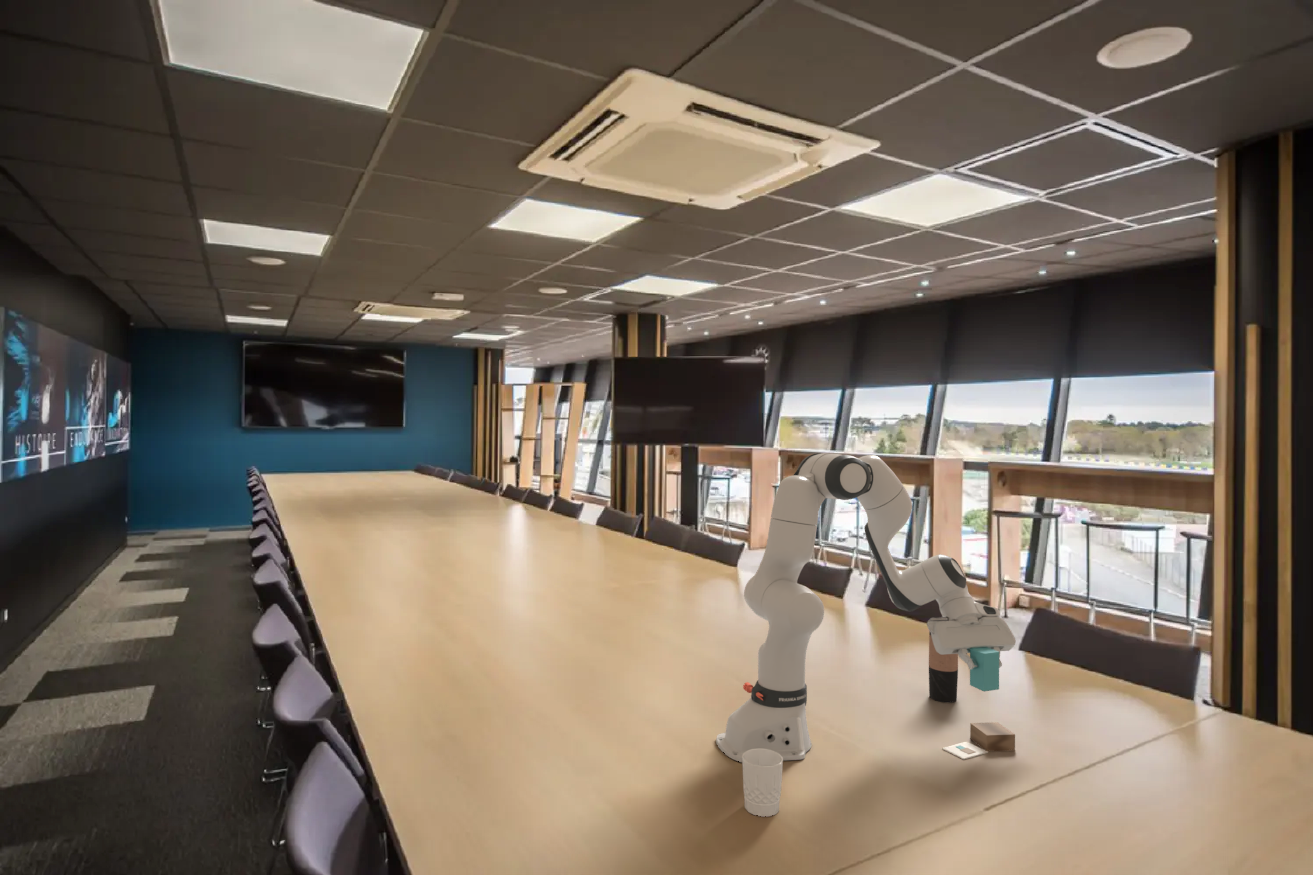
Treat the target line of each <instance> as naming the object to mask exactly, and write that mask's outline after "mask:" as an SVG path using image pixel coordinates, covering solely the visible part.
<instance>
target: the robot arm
mask: <svg viewBox="0 0 1313 875" xmlns="http://www.w3.org/2000/svg"><path fill="white" fill-rule="evenodd" d="M825 499H831V500H842V501H849V500H852V499H853V500H854V499H858V501H859V503H860V504H861V507H863V509H864V511H865V514H866V516H867V517H866V518H867V521H866V523H865V525H864V534H865V538H866V541H867V543H868V545H869V549H870V551H871V553H872V555H873V558H874V560H875V562H876V566H878V570H879V571H880V573H881V575H882V578H883V581H884V583H885V585H886V588H887V593H888V595H889V598H890V600H891V602H892V603H893V604H894V605H895V607H896V608H897V609H899V610H902V611H904V612H914V611H915V610H918V609H919V608H921V607H922V606H923V605H926V604H929V603H930V602H932V601H936V602H937V604H938V607H939V612H940V614H941V617H940V616H939V617H930V618H929V619H928V620H927V621H926V626H927V629H928V631H930V632H931V637H932V641H933V644H934V647H935V650H936V651H937V652H938V653H939V654H941V655H944V654H958V658H959V659H961V660H962V661H963V662H964V663H965V664H967V667H968V669H969V671H970V670H972V669H976V668H978V664H977V663H976V660H972V659H971V658H970V655H968V654H970V648H980V647H988V648H990V649H993V650H996V651H998V652H999V669H1000V668H1001V667H1002V666H1003V662H1002V660H1001V652H1009V651H1011V650H1012V649H1013V648H1014V647H1015V645H1016V640H1017V639H1016V638H1015V635H1014V634H1013V632H1012V630H1011V628H1010V626H1009V624H1008V623H1007V622H1006V621H1005V619H1003V618H1002V617H1000V616H1001V612H1000V610H999V608H997V607H994V606H991V605H986V604H983V603H980V602H976V600H975V599H974V598H973V596H972V595H971V594H970V593H969V587H968V585H967V577H966V576H965V573H964V571H963V569H962V568H961V566H960V564H959V563H958V562H957V560H955V559H954V558H953V557H951V556H948V555H945V554H940V553H939V554H936V555H932V556H931V557H929V558H927V559H924V560H922V561H921V562H919V563H917V564H914V565H912V566H910V567H907V568H906V569H898V567H897V566H896V562H895V560H894V559H893V556H892V554H891V551H890V549H889V545H890V543H891V541H892V539H894V537H895V535H896V534H898V532H900V530H901V529H902V528H904V527H905V525H906V524H907V522H908V521H909V519H910V517H911V514H912V511H913V503H912V502H913V500H912V499H911V496H910V495H909V492H908V491H907V489H906V487H905V486H904V484H903V483H902V481H901V480H900V479H899V477H898V476H897V475H896V474H895V472H894V471H893V470H892V469H891V467H889V466H888V465H887V463H886V462H885V461H884V460H883V459H882V458H880V457H879V456H877V455H873V454H868V455H863V456H860V457H855V456H853V455H850V454H839V453H835V452H824V453H821V452H819V453H812V454H810V455H808V456H806V457H805V458H803V459H802V461H801V462H800V463H799V465H798V467H797V469H796V471H795V472H794V473H793V474H792V475H789V476H786V477H785V478H783V479H782V480H781V481H780V483H779V485H778V488H777V490H776V494H775V496H774V500H773V504H772V507H771V508H772V509H771V514H770V522H769V526H768V532H767V540H766V546H765V549H764V553H763V556H762V558H761V562H760V564H759V566H758V569H757V571H756V573H755V574H754V575H753V576H751V578H750V579H749V580H748V581H747V582H746V585H745V587H744V593H743V594H744V595H743V597H744V600H745V603H746V605H747V606H748V607H749V608H750V610H751V611H753V613H754V614H755V615H756V616H757V617H760V618H761V619H764V620H765V621H767V623H768V631H767V634H766V638H765V641H764V643H762V644H761V645H760V647H759V648H758V654H757V655H758V656H757V663H758V664H757V669H758V670H757V674H758V675H757V680H756V682H755V684H754V685H753V684H751V683H750V682H748V681H746V682H745V683H744V684H743V686H742V689H743V690H744V691H745V692H746V693H748V694H751V695H750V697H749V699H747V701H745V702H744V703H743V704H742V705H740V706H739V707H738V708H737V709H736V710H734V711H733V712H732V713H731V714H730V715H729V716H728V718H727V722H726V726H725V727H726V728H725V732H722V733H719V734H717V735H716V740H715V743H716V745H718V746H717V747H718V749H719V750H720V751H721V752H722V753H723V752H724V753H725V754H724V753H723V754H724V755H725V756H727V757H729V758H730V759H731V760H734V761H737V762H738V761H739V763H742V755H743V753H744V752H746V751H748V750H751V749H768V750H772V751H775V752H777V753H779V754H780V755H781V756H782V758H783V761H798V760H804V759H805V757H806V753H807V752H809V750H810V749H812V748H811V747H812V746H813V745H812V741H811V737H810V734H809V728H808V722H807V711H806V710H807V709H806V706H807V703H808V702H807V701H808V692H807V691H808V687H807V683H806V656H807V650H808V645H809V642H810V638H811V637H812V634H813V633H814V632H815V631H816V630H817V629H818V628H819V627H820V626H821V624H822V622H823V621H824V617H825V606H824V602H823V601H822V599H821V598H820V597H819V595H817V593H815V592H813V591H812V590H811V588H809V587H807V586H805V585H803V584H800V583H798V579H799V577H800V574H801V572H802V570H803V569H804V566H805V565H806V564H808V563H809V562H810V561H811V560H812V558H813V556H814V550H815V542H816V535H817V528H818V519H819V511H820V508H821V506H822V503H823V502H824V501H825ZM923 607H924V606H923Z"/></svg>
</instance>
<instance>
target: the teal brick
mask: <svg viewBox="0 0 1313 875" xmlns="http://www.w3.org/2000/svg"><path fill="white" fill-rule="evenodd" d="M969 657H970V658H971V659H972V660H976V663H977V664H978V668H976V669H972V670H970V669H969V686H971V687H973V688H975V689H978V690H979V691H982V692H990V691H998V690H1000V668H999V659H1000V658H999V652H998V651H996V650H993V649H990V648H988V647H980V648H970V653H969Z"/></svg>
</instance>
